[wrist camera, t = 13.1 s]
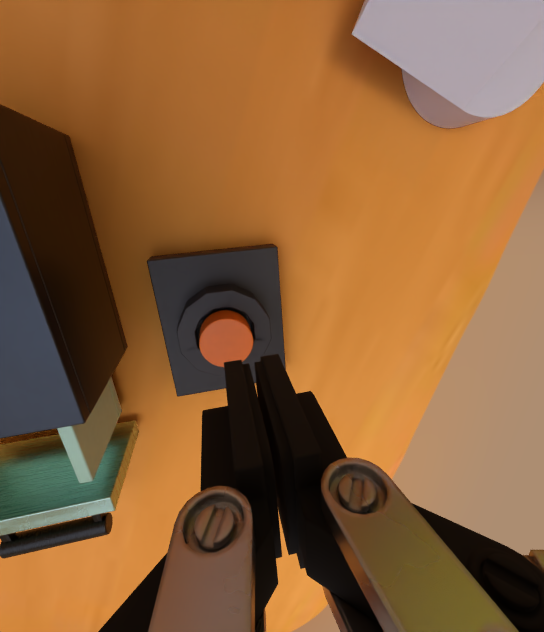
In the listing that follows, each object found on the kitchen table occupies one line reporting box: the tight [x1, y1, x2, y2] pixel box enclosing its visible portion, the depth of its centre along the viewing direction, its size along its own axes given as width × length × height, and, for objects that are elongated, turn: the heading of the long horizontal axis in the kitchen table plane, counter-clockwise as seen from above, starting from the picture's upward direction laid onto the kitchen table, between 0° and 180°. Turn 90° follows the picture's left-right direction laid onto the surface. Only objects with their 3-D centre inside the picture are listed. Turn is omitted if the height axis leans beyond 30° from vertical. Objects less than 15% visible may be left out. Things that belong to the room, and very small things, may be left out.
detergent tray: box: [0, 377, 139, 558], centre depth 20 cm, size 18×11×7 cm, turn 4°
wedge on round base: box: [352, 0, 544, 128], centre depth 18 cm, size 9×7×13 cm
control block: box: [147, 244, 286, 396], centre depth 23 cm, size 11×9×4 cm
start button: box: [199, 310, 253, 367], centre depth 21 cm, size 4×4×2 cm
